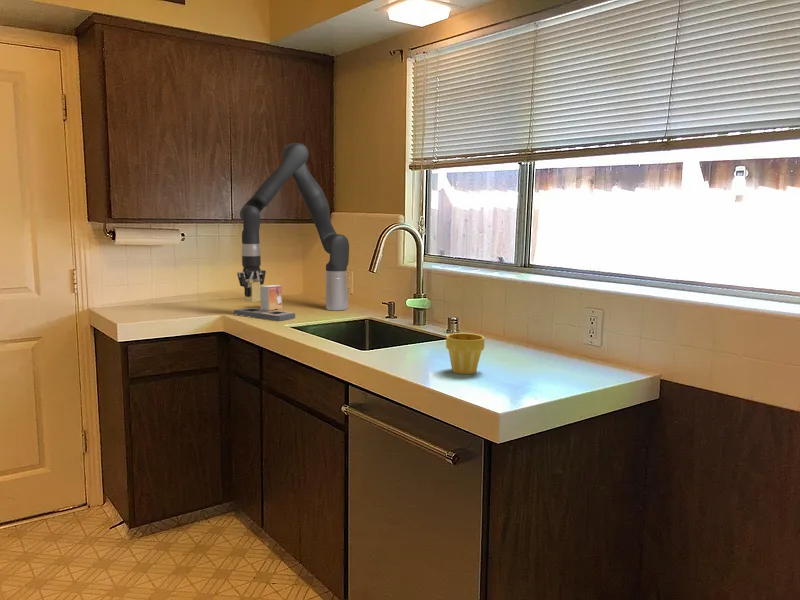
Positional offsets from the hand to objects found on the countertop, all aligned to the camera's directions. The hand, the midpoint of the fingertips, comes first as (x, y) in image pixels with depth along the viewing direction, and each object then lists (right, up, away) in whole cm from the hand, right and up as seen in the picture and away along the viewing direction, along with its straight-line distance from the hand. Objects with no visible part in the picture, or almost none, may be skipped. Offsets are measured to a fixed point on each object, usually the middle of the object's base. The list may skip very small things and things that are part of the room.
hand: (252, 295), depth 267 cm
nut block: (0, -2, 0) cm, 2 cm away
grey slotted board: (+6, -9, -3) cm, 11 cm away
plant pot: (+79, -22, -90) cm, 122 cm away
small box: (+5, -6, +17) cm, 18 cm away
